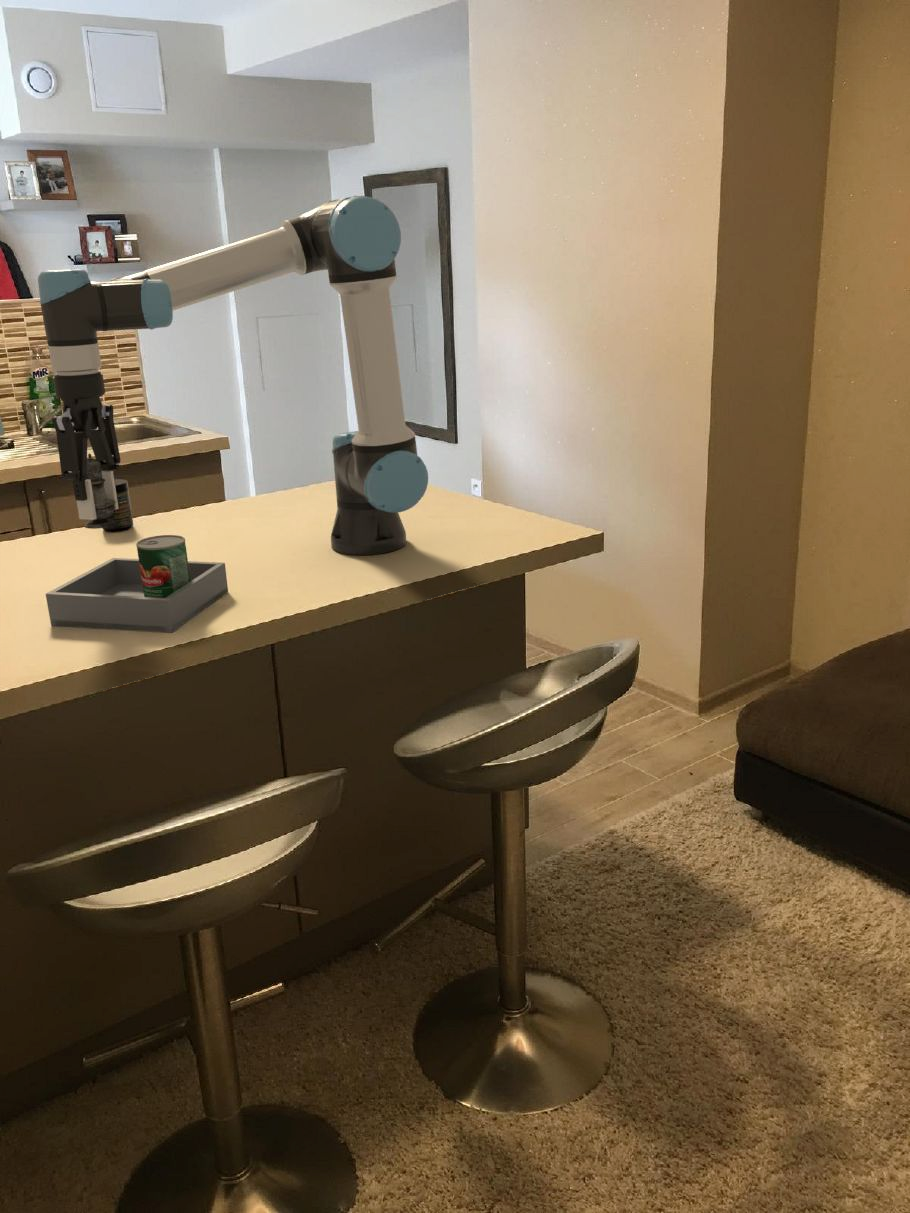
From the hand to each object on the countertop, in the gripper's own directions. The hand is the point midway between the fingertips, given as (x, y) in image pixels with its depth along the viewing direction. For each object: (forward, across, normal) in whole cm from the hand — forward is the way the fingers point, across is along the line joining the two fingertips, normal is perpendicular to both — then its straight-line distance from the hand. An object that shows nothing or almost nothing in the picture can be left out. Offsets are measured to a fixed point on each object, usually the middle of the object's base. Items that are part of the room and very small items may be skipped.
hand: (99, 513), depth 168 cm
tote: (+16, 0, +6) cm, 17 cm away
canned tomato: (+16, 0, +11) cm, 19 cm away
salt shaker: (+2, 0, 0) cm, 2 cm away
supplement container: (+17, -47, -28) cm, 57 cm away
